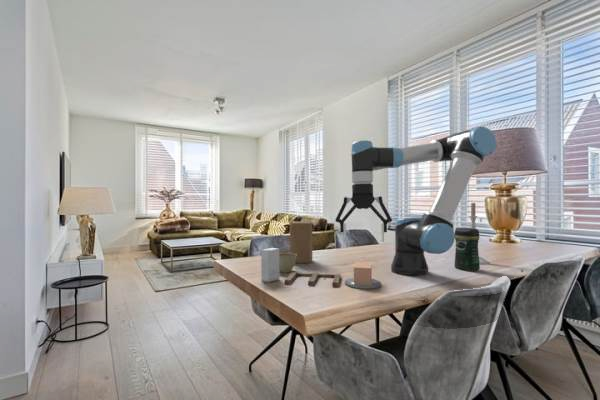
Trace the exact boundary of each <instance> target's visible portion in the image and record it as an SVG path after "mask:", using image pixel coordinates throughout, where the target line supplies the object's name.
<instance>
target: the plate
mask: <svg viewBox="0 0 600 400" xmlns="http://www.w3.org/2000/svg"><path fill="white" fill-rule="evenodd" d="M344 285H345V286H347V287H349V288H351V289H355V290H356V289H357V290H375V288H376V289H379V288H381V287H382V282H381V281H380V280H378V279H375V278H372V279H371V285H359V284H354V277H351V278H350V277H349V278H346V279H345V280H344Z"/></svg>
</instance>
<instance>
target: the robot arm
mask: <svg viewBox="0 0 600 400" xmlns="http://www.w3.org/2000/svg"><path fill="white" fill-rule="evenodd" d="M496 148H497V140H496V136H495V134H494V133H493V131H492V130H491V129H489V127H486V126H477V127H472V128H470V129H467V130H463V131H460V132H457V133H456V132H455V133H453V134H450V135H447V136H445V137H442V138H438V139H434V140H431V141H430V142H429V143H425V144H424V143H423V144H418V145H412V146H405V147H393V146H392V147H376V146H374V145H373V142H372V141H370V140H357V141H353V143H352V144H351V154H350V155H351V183H353V184H352V186H351V189H352V190H351V191H352V196H351V197H347V196H344V197H343V203H342V205H341V207H340V209H339V212H338V213H337V216H336V217H335V222H336V223H339V224H340V225H339V226H340V229H339V230H340V233H343V242H347V224H346V222H345V221H346V220H347V219H348V218H349V217H350V215H351V214H353V212H354V211H355V209H358V210H362V209H365V210H369V209H371V211H373V213H374V214H375V215H376V216H377V217H378V218H379V219H380V220H381V223H380V237H381V240H380V241H381V242H382V243H384V242H385V233H387V232H388V223H391V222H392V221H393V219H392V217H391V214H390V213H389V211H388V209H387V207H386V206H385V204H384V202H383V197H382V196H380V195H379V196H374V185H373V181H374V174H373V173H374V171H379V170H383V169H384V170H385V169H390V168H391V169H395V168H400V167H402V166H408V165H413V164H414V165H415V164H419V163H425V162H430V161H432V162H434V163H438V162H451V164H450V166H449V167H448V170H447V172H446V174H445V176H444V178H443V181H442V182H441V185H440V187H439V189H438V192H437V193H436V196H435V198H434V200H433V202H432V204H431V206H430V209H429V210H428V211H427V212H424V213H423V214H422V216H421V217H405V218H398V219H396V220H395V225H394V231H395V233H394V235H395V238H394V239H395V240H394V241H395V242H394V243H395V244H394V245H395V246H394V247H395V253H394V256H393V259H392V263H391V265H390V266H391V267H390V268H391V269H390V270H391V272H392V273H395V274H399V275H405V276H426V275H428V274H429V266H428V262H427V260H426V256H425V253H427V254H433V255H434V254H435V255H441V254H444V253H446V252H448V251H449V250H451V248H452V246H453V244H454V242H455V236H454V235H455V230H453V228H454V222H453V221H452V220H453V217H454V215H455V213H456V210H457V209H458V206H459V204H460V202H461V199H462V198H463V196H464V193H465V190H466V189H467V186H468V184H469V182H470V180H471V177H472V175H473V173H474V171H475V169H476V168H477V167H480V166H481V165H482V163H483V161H484V159H485V157H487V156H491V155H492V154H494V152H495V151H496ZM375 201H376V203H378V205H379V206H380V208H381V210H382V212H383V213H384V215H385V217H384V216H383V215H382V214H381V213H380V212H379V211H378V210H377V209H376V207H375V206H374V205H373V203H374V202H375ZM350 202H351V203H352V204H353V205H352V207H351V208H350V209H349V210H348V211H347V212H346V214H345V215H344V217H342V215H343V213H344V211H345V209H346V207H347V205H348V204H349V203H350ZM341 217H342V218H341Z"/></svg>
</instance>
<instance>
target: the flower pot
mask: <svg viewBox="0 0 600 400" xmlns="http://www.w3.org/2000/svg"><path fill="white" fill-rule="evenodd" d="M296 258H297V254H294V253H290V252H279V273H290V272H292V270H293V268H294V266H295V264H296V263H295V262H296Z"/></svg>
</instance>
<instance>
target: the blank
mask: <svg viewBox="0 0 600 400" xmlns="http://www.w3.org/2000/svg"><path fill="white" fill-rule="evenodd" d="M372 264H373V263H372V262H365V261H364V262H363V261H355V263H354V265H353V278H354V284H359V285H371V279H373V278H372V277H373V276H372V271H373V270H372V268H373V267H372V266H373V265H372Z"/></svg>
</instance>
